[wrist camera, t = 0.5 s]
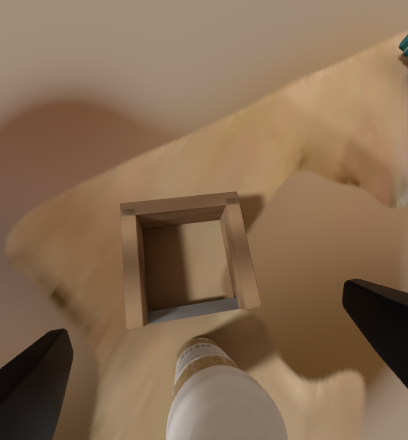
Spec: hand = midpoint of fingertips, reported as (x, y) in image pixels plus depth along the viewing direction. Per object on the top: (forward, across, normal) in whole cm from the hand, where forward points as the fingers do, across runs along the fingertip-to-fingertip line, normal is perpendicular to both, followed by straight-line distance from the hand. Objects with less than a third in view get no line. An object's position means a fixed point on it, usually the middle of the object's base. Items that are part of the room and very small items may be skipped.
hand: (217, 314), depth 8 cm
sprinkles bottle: (+10, 0, +13) cm, 17 cm away
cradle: (+15, 0, +6) cm, 16 cm away
